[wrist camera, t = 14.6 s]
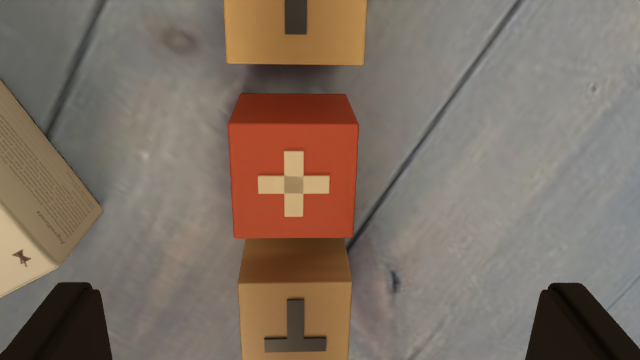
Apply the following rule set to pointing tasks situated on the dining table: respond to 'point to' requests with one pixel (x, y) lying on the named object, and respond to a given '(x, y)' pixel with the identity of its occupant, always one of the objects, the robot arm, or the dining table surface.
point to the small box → (36, 200)
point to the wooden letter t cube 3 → (295, 299)
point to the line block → (295, 32)
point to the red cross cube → (293, 166)
